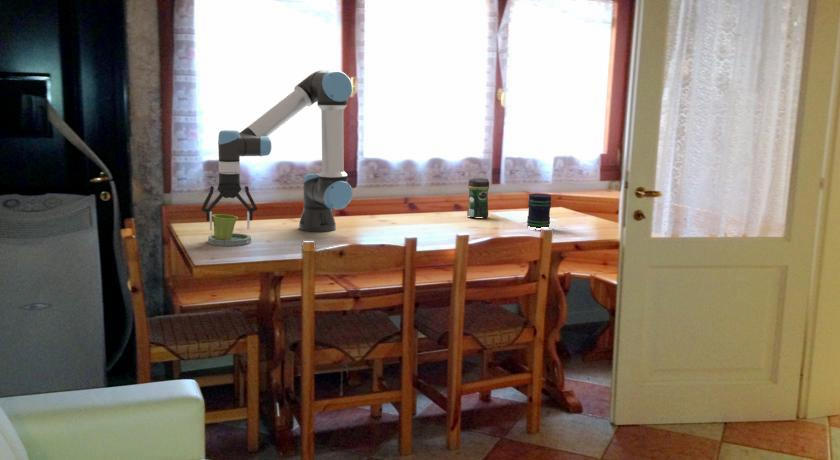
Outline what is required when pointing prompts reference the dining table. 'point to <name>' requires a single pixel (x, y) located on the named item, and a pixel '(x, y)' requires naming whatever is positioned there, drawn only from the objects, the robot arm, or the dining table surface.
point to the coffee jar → (478, 197)
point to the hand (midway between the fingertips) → (229, 229)
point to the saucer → (235, 240)
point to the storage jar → (539, 210)
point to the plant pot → (223, 226)
